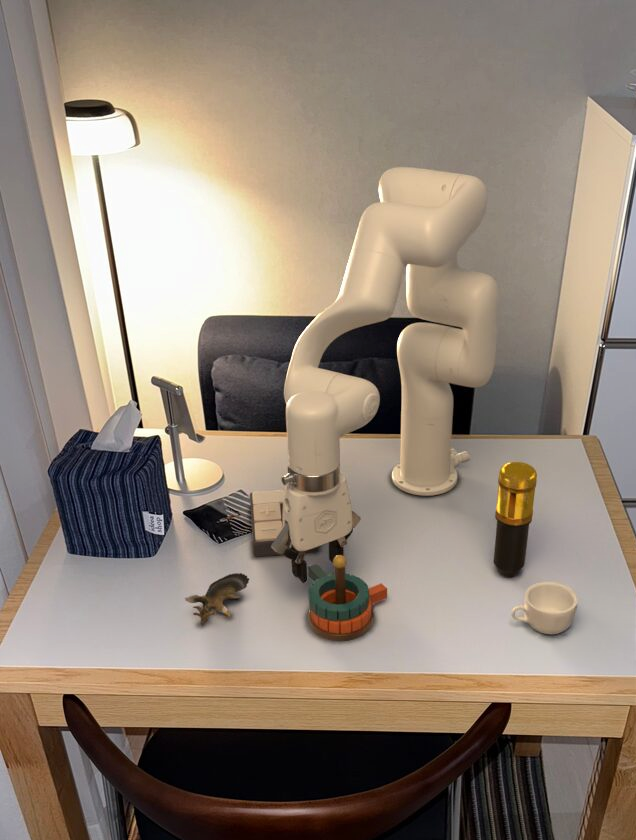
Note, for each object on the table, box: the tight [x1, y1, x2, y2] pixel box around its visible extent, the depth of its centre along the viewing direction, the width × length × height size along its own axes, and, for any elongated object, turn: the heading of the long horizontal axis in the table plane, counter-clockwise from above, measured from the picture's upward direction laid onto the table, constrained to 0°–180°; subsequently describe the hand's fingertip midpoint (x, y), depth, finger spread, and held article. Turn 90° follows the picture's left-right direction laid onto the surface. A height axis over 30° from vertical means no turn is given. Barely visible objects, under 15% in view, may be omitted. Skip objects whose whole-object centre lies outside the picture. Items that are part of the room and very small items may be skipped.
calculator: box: [249, 489, 319, 558], centre depth 160 cm, size 11×4×15 cm
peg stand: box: [308, 555, 374, 642], centre depth 138 cm, size 10×10×12 cm
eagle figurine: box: [184, 572, 250, 626], centre depth 141 cm, size 8×7×9 cm
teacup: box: [510, 581, 579, 635], centre depth 138 cm, size 10×8×5 cm
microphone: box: [493, 461, 538, 578], centre depth 146 cm, size 6×13×20 cm, turn 108°
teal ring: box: [307, 563, 370, 621], centre depth 140 cm, size 13×9×2 cm
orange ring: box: [311, 583, 388, 634], centre depth 140 cm, size 13×9×2 cm
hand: (318, 570), depth 143 cm, fingers open, 5 cm apart
